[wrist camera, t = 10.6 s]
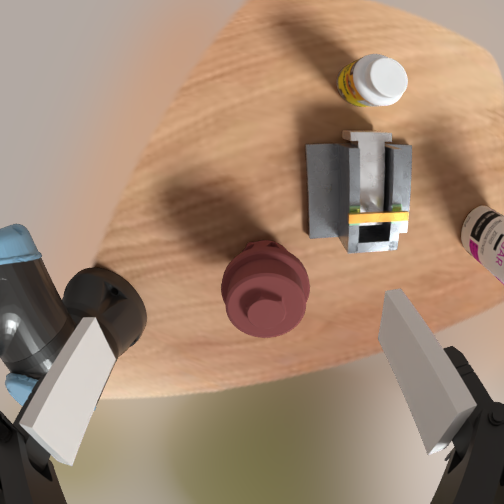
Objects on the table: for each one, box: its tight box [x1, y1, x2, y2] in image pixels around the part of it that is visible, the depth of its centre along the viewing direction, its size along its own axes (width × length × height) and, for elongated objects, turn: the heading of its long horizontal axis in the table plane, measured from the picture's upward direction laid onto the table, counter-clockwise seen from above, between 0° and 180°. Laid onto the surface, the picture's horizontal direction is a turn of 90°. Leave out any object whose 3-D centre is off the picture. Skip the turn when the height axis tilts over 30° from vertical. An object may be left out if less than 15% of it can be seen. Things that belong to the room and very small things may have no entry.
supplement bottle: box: [337, 54, 408, 107], centre depth 26 cm, size 6×6×10 cm
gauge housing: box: [305, 143, 412, 253], centre depth 33 cm, size 14×12×6 cm
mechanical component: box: [221, 240, 310, 338], centre depth 35 cm, size 12×10×10 cm
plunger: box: [342, 130, 409, 226], centre depth 32 cm, size 7×11×6 cm, turn 5°
